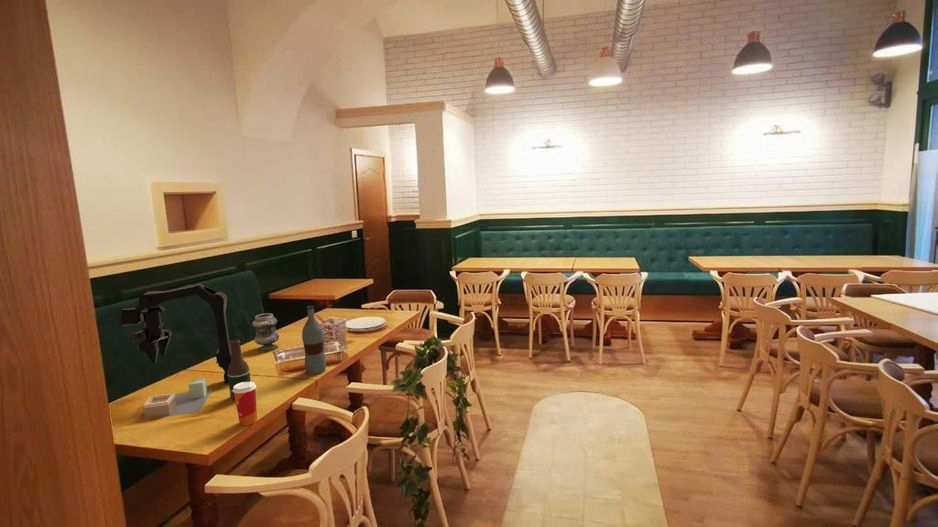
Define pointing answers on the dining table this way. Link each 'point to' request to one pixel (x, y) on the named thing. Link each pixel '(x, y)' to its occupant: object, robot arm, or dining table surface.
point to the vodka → (313, 344)
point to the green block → (198, 388)
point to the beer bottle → (237, 367)
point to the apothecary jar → (265, 332)
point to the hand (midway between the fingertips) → (158, 359)
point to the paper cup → (246, 402)
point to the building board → (187, 404)
